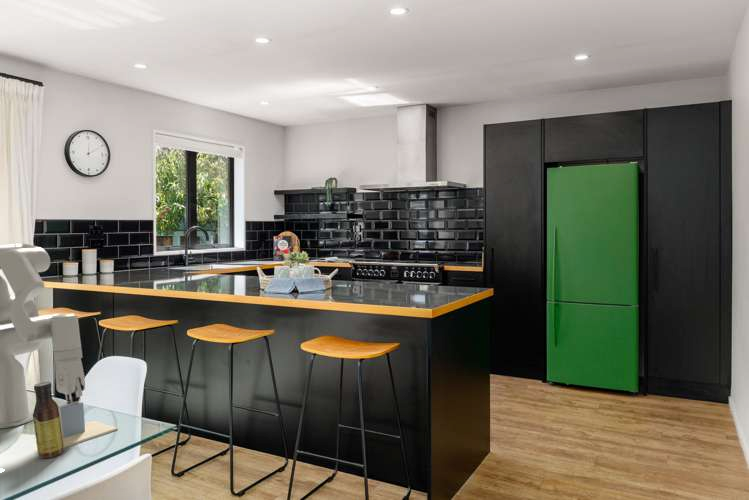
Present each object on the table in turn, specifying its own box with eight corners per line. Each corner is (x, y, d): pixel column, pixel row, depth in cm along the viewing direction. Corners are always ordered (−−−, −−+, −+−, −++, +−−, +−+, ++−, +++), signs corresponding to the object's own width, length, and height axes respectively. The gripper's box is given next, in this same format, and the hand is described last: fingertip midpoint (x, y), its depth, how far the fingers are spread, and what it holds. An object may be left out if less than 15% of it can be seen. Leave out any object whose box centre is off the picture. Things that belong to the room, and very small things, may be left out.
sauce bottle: (46, 451, 157) (37, 381, 156) (69, 449, 157) (60, 378, 157) (33, 461, 151) (24, 387, 150) (57, 458, 151) (48, 385, 150)
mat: (39, 439, 169) (39, 437, 169) (93, 422, 181) (93, 420, 181) (62, 448, 158) (61, 446, 158) (117, 429, 171) (117, 427, 171)
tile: (81, 429, 172) (60, 436, 167) (79, 400, 171) (58, 406, 167) (85, 431, 171) (64, 438, 166) (83, 402, 170) (62, 408, 165)
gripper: (44, 356, 174) (51, 415, 174) (65, 359, 164) (73, 421, 165) (70, 350, 180) (77, 407, 180) (91, 353, 170) (98, 413, 171)
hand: (75, 414), depth 173 cm, fingers closed
